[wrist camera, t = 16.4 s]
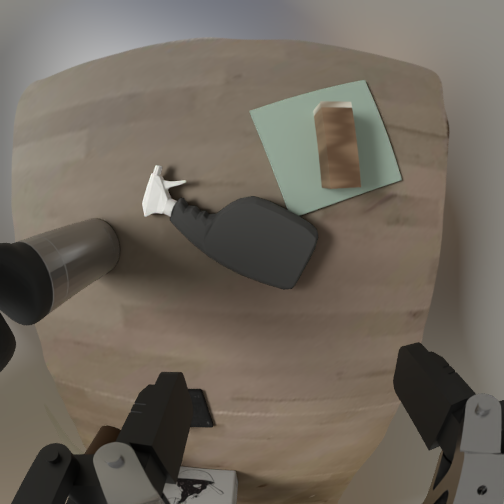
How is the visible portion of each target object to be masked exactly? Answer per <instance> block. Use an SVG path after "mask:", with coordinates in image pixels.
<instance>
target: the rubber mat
mask: <svg viewBox="0 0 504 504" xmlns="http://www.w3.org/2000/svg"><path fill="white" fill-rule="evenodd" d="M320 101H341V102H351V103H352V110H353V116H354V123H355V131H356V139H357V147H358V156H359V167H360V178H361V187H357V188H338V189H327V188H322V185H321V174H320V164H319V154H318V145H317V137H316V128H315V121H314V113H313V110H314V109H315V108H316V107H317V105H318V104H319V103H320ZM250 114H251V117H252V119H253V121H254V124H255V126H256V129H257V131H258V134H259V136H260V139H261V141H262V144H263V146H264V149H265V151H266V154H267V156H268V159H269V161H270V164H271V167H272V169H273V172H274V174H275V177H276V180H277V182H278V185H279V188H280V190H281V193H282V196H283V199H284V201H285V204H286V207H287V210H289V211H291V212H293V213H295V214H296V215H298V216H300V215H303V214H305V213H308V212H311V211H314V210H317V209H319V208H322V207H325V206H328V205H331V204H333V203H336V202H339V201H342V200H345V199H348V198H351V197H353V196H356V195H359V194H362V193H365V192H368V191H371V190H374V189H377V188H379V187H382V186H385V185H388V184H391V183H394V182H397V181H400V180H402V179H401V175H400V172H399V169H398V165H397V162H396V159H395V156H394V153H393V150H392V147H391V144H390V141H389V138H388V136H387V133H386V130H385V127H384V125H383V122H382V120H381V117H380V114H379V112H378V109H377V107H376V105H375V102H374V100H373V98H372V95H371V93H370V91H369V89H368V86H367V84H366V82H365V80H361V81H356V82H351V83H347V84H342V85H338V86H333V87H329V88H325V89H321V90H317V91H313V92H310V93H306V94H302V95H299V96H295V97H292V98H288V99H285V100H282V101H279V102H275V103H272V104H269V105H266V106H263V107H260V108H257V109H254V110H251V111H250Z"/></svg>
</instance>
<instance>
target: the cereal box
mask: <svg viewBox="0 0 504 504" xmlns="http://www.w3.org/2000/svg"><path fill="white" fill-rule="evenodd" d="M237 489H238V480H237V476H236V471H234V470H215V469H202V468H192V467H183V466H180V471H179V475H178V479H177V483H176V484H168V483H165V486H164V490H163V492H164V494H165V495H166V497H167V498H168V500H169V502H170V503H171V504H236V502H237Z"/></svg>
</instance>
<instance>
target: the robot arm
mask: <svg viewBox="0 0 504 504" xmlns="http://www.w3.org/2000/svg"><path fill="white" fill-rule="evenodd" d="M119 254H120V247H119V241H118V238H117V235H116V233H115V232H114V230H113V229H112V227H111V226H110V225H109V224H107V223H106V222H105V221H103V220H100V219H89V220H85V221H82V222H78V223H74V224H71V225H67V226H64V227H61V228H58V229H54V230H51V231H48V232H45V233H42V234H39V235H36V236H33V237H30V238H27V239H24V240H21V241H18V242H15V243H12V244H10V243H0V310H1V311H2V312H3V313H5V314H6V315H7V316H8V317H10V318H11V319H12V320H14V321H15V322H17V323H19V324H22V325H32V324H35V323H37V322H38V321H40V320H41V319H42V318H44V317H45V316H46V315H48V314H49V313H50V312H52V311H53V310H54V309H56V308H57V307H59V306H60V305H61V304H63V303H64V302H65V301H67V300H68V299H70V298H71V297H72V296H74V295H75V294H77V293H78V292H80V291H81V290H83V289H84V288H85V287H87V286H88V285H90V284H91V283H93V282H94V281H96V280H97V279H99V278H100V277H102V276H103V275H105V274H106V273H108V272H109V271H111V270H112V269H113V268H114V267H115V265H116V264H117V261H118V259H119ZM15 348H16V341H15V337H14V335H13V333H12V331H11V329H10V328H9V326H8V324H7V323H6V321H5V319H4V318H3V316H2V315H1V313H0V372H1V371H2V370H3V368H4V367H5V366H6V365H7V364H8V362H9V361H10V360H11V358H12V356H13V354H14V351H15ZM393 384H394V389H395V392H396V394H397V396H398V397H399V399H400V401H401V402H402V404H403V406H404V407H405V409H406V411H407V413H408V414H409V416H410V418H411V419H412V421H413V423H414V425H415V426H416V428H417V430H418V432H419V433H420V435H421V437H422V439H423V441H424V442H425V444H426V446H427V448H428V450H432V449H434V448H436V447H439V446H440V447H441V449H442V451H441V453H440V456H439V459H438V463H437V466H436V470H435V473H434V476H433V479H432V483H431V486H430V489H429V491H428V494H427V496H426V498H425V500H424V502H423V503H422V504H503V502H504V400H502V401H498V400H497V399H496V398H495V397H494V396H492V395H489V394H483V393H482V394H475V392H473V390H472V389H471V388H470V387H469V386H468V385H467V384H466V382H465V381H464V380H463V379H462V378H461V377H460V376H459V375H458V373H455V370H454V369H453V368H452V367H451V366H449V364H448V363H447V362H446V360H445V359H444V358H443V357H441V356H439V355H437V354H436V353H434V352H428V350H427V349H426V348H425V347H424V346H423V345H422V344H421V343H419V342H418V343H414V344H410V345H406V346H402V347H401V348H400V349H399V353H398V358H397V364H396V369H395V374H394V379H393ZM192 417H193V405H192V400H191V397H190V394H189V391H188V388H187V385H186V381H185V378H184V375H183V373H182V372H161V373H160V375H159V377H158V379H157V381H156V383H155V385H148V386H147V387H146V388H144V389H143V390H142V391H141V392H140V393H139V395H138V397H137V399H136V401H135V405H133V407H132V409H131V413H129V415H128V417H127V419H126V421H125V423H124V425H123V427H122V429H121V431H120V433H119V435H118V437H117V439H116V441H115V442H113V443H108V444H105V445H103V446H102V447H100V448H99V449H98V450H97V451H96V453H95V454H81V455H73V454H72V453H71V451H70V450H69V449H68V448H67V447H66V446H65V445H63V444H58V443H54V444H49V445H47V446H45V447H44V448H42V449H41V450H40V452H39V454H38V455H37V457H36V459H35V460H34V462H33V464H32V466H31V467H30V469H29V471H28V473H27V475H26V476H25V478H24V480H23V482H22V484H21V486H20V488H19V490H18V491H17V494H16V495H15V497H14V499H13V501H12V503H11V504H65V502H66V500H67V497H69V498H68V500H67V503H66V504H171V503H170V502H169V500H168V498H167V497H166V495H165V494H164V492H163V490H164V486H165V483H168V484H176V483H177V479H178V475H179V471H180V466H181V462H182V458H183V454H184V450H185V446H186V442H187V438H188V433H189V429H190V425H191V421H192Z"/></svg>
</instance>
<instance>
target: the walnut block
mask: <svg viewBox="0 0 504 504" xmlns="http://www.w3.org/2000/svg"><path fill="white" fill-rule="evenodd" d="M313 113H314V121H315V128H316V137H317V145H318V154H319V164H320V174H321V185H322V188H327V189H338V188H357V187H361V178H360V167H359V156H358V147H357V139H356V131H355V123H354V116H353V110H352V103H351V102H341V101H320V103H319V104H318V105H317V107H316V108H315V109H314V110H313Z"/></svg>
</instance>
